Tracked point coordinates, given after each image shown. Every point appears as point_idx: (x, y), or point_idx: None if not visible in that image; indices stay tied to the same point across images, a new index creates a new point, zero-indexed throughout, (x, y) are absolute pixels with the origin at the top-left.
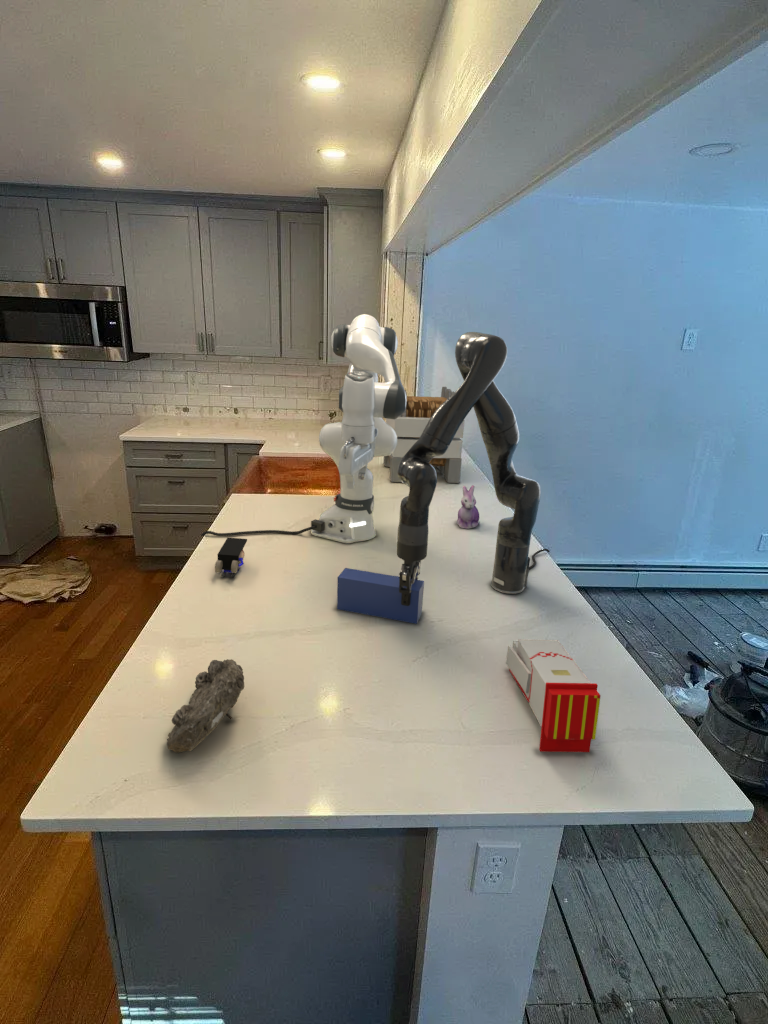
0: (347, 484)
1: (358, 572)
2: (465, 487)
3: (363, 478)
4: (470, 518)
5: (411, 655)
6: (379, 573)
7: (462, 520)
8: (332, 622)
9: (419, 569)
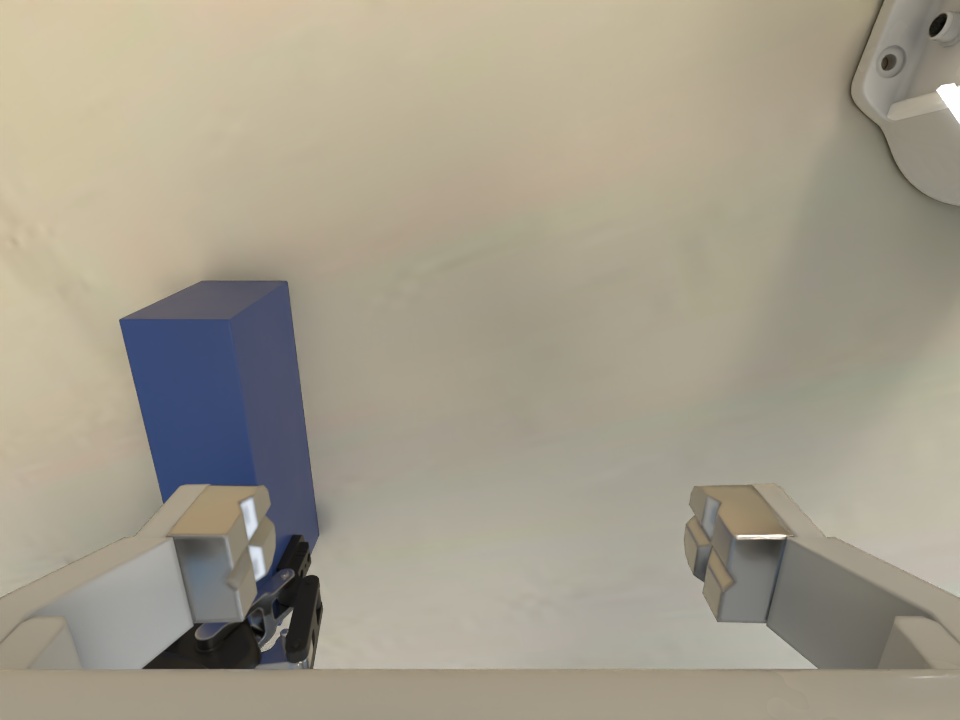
0: (155, 519)
1: (214, 391)
2: None
3: (691, 561)
4: None
5: (88, 552)
6: (253, 472)
7: None
8: (113, 297)
9: (261, 646)
